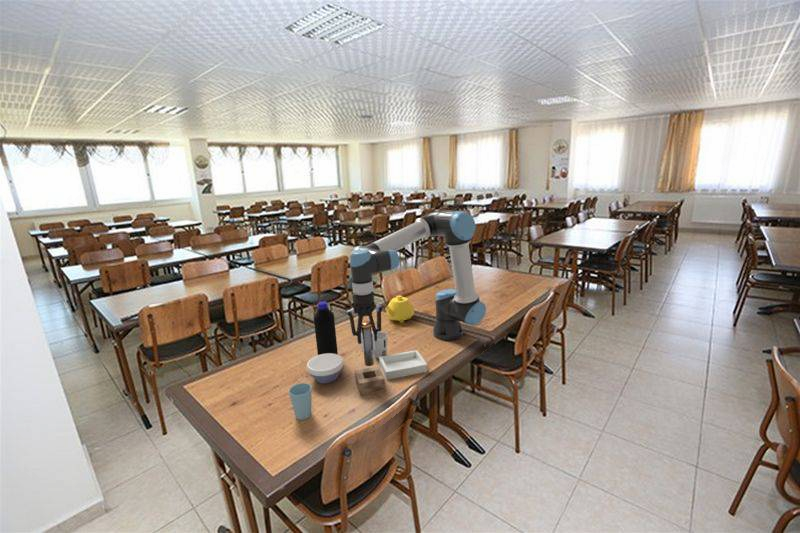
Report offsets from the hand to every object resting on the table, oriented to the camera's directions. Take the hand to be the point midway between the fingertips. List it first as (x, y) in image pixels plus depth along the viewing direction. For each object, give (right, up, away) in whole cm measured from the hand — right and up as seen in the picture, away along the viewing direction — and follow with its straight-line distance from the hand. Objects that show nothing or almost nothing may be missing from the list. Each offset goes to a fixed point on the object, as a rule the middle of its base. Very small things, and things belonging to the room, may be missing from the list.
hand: (368, 349), depth 144 cm
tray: (+13, -11, +16) cm, 24 cm away
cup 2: (+3, -9, +28) cm, 29 cm away
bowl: (-18, -14, +11) cm, 26 cm away
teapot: (+11, +1, +67) cm, 68 cm away
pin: (0, -6, +2) cm, 6 cm away
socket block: (0, -15, +4) cm, 16 cm away
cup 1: (-22, -21, -12) cm, 32 cm away
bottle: (-20, -11, +25) cm, 34 cm away
